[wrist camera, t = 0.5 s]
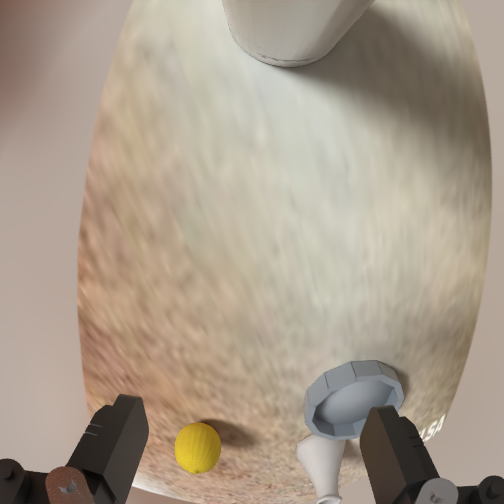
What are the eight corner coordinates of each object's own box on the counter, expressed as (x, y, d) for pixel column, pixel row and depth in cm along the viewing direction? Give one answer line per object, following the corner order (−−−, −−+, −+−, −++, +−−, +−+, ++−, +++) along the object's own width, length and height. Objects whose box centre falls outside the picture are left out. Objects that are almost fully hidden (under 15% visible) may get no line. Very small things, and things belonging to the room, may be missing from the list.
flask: (328, 459, 38) (336, 513, 29) (285, 453, 37) (288, 511, 28) (355, 434, 36) (369, 491, 27) (310, 427, 35) (319, 490, 26)
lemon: (177, 427, 36) (165, 474, 28) (187, 405, 34) (174, 456, 26) (216, 439, 36) (209, 487, 29) (229, 418, 35) (224, 470, 27)
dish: (312, 362, 31) (316, 377, 29) (408, 358, 31) (416, 371, 29) (297, 427, 35) (299, 441, 33) (380, 421, 35) (385, 434, 33)
